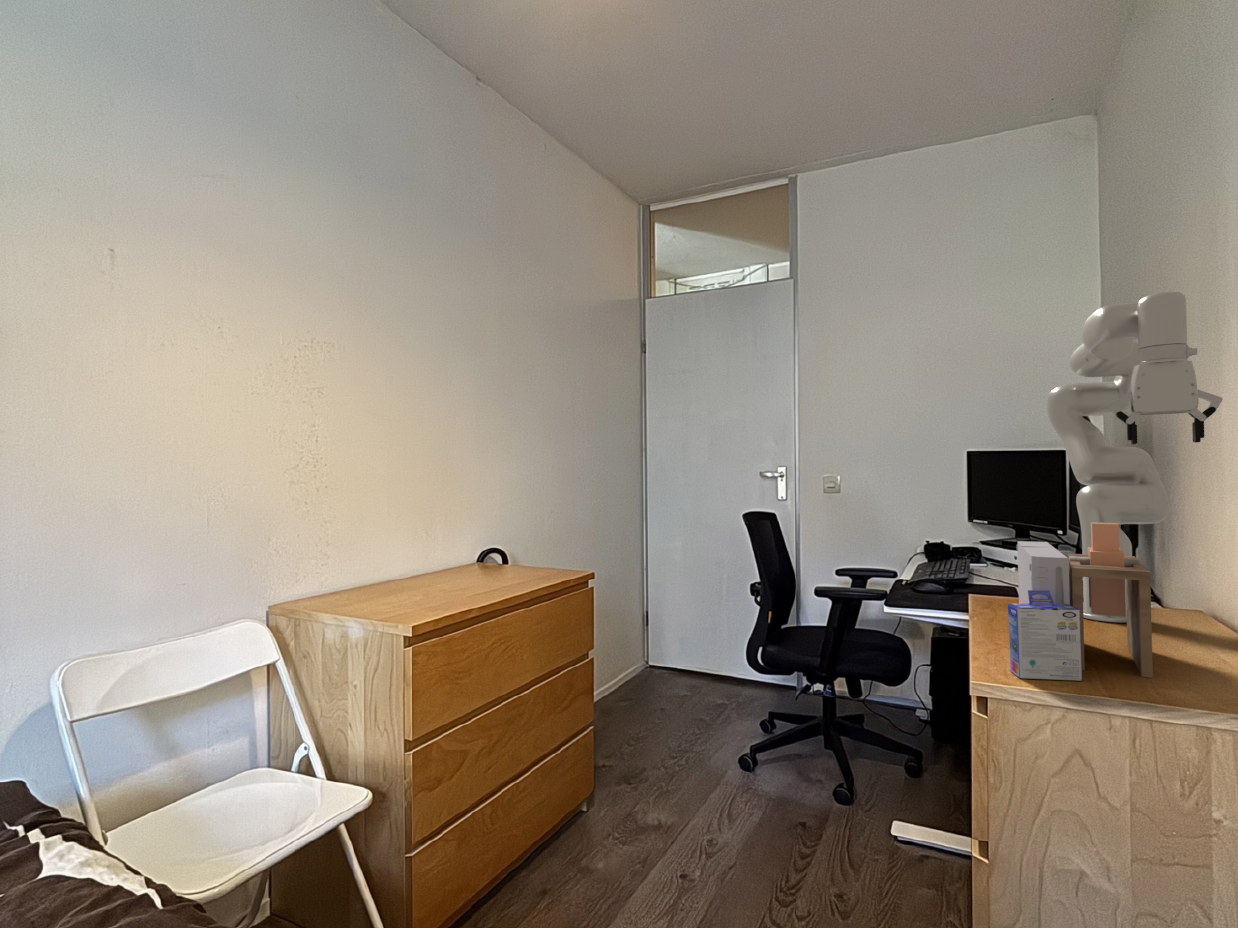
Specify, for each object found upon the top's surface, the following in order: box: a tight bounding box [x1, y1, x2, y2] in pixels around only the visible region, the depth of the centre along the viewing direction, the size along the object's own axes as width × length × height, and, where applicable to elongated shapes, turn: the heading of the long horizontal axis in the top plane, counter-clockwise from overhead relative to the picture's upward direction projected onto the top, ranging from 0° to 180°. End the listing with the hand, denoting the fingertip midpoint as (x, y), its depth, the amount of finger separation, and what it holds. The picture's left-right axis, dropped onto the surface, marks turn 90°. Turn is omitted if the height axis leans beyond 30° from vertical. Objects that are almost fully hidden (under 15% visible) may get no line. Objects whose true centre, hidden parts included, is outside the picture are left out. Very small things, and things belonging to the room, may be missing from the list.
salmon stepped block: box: [1088, 522, 1126, 617], centre depth 126 cm, size 8×5×16 cm, turn 148°
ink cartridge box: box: [1007, 590, 1083, 682], centre depth 116 cm, size 10×6×14 cm, turn 78°
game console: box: [1016, 540, 1070, 605], centre depth 132 cm, size 6×27×20 cm, turn 154°
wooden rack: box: [1067, 553, 1154, 679], centre depth 125 cm, size 22×11×19 cm, turn 148°
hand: (1164, 443), depth 132 cm, fingers open, 9 cm apart
